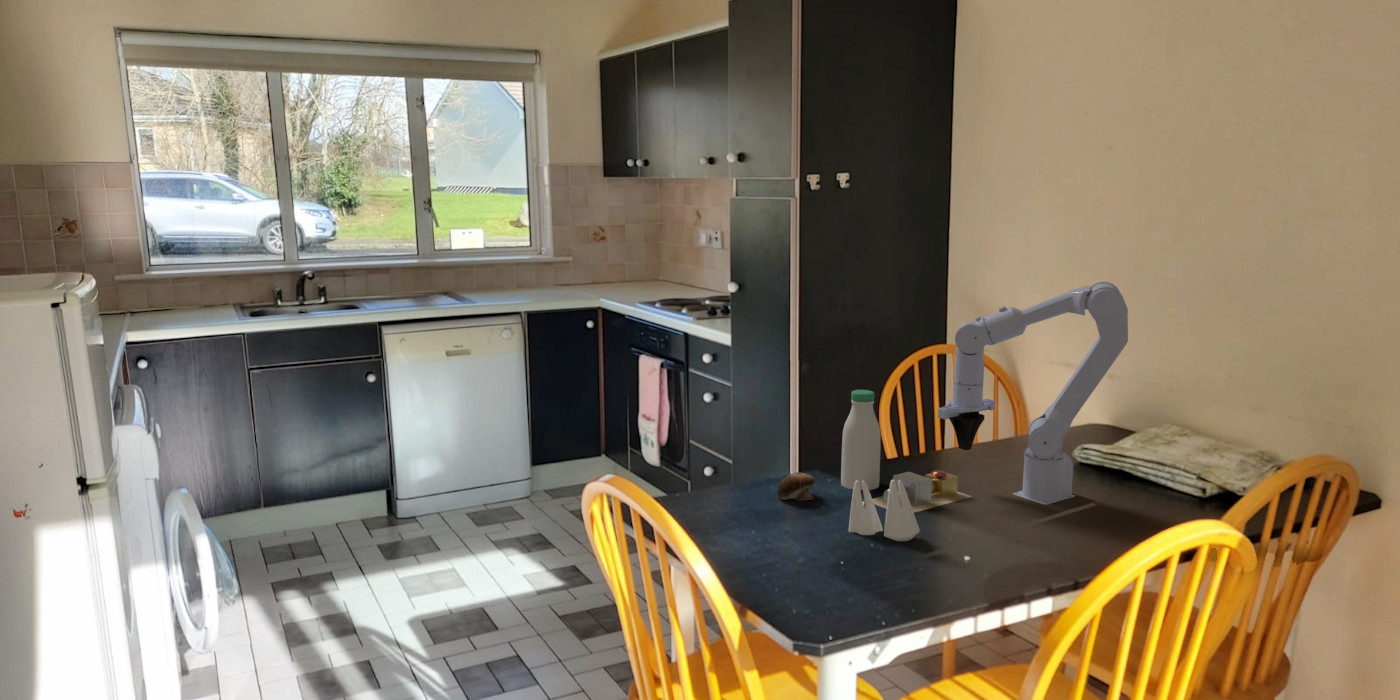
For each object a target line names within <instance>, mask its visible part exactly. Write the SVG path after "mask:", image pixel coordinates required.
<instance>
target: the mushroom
mask: <svg viewBox="0 0 1400 700" xmlns="http://www.w3.org/2000/svg"><path fill="white" fill-rule="evenodd" d="M815 483H816V480H815V478H814V477H813V475H810V474H808V473H805V472H793V473H791V474H789V475H787V476H786V477H784V478H783V479H782V480H781V481H780V483H779V484H778V486H777V496H778V498H779V499H780V500H782V501H783V500H784V501H785V500H789V499H791V500H792V499H793V500H796V501H798V502H800V501H801V502H803V501H812V500H814V496H813V495H812V494H811V493H810V492H809V489H810V488H811V487H813V486H814V485H815Z"/></svg>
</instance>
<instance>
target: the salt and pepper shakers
mask: <svg viewBox="0 0 1400 700" xmlns="http://www.w3.org/2000/svg"><path fill="white" fill-rule="evenodd" d="M898 486H899V493H898V492H897V488H896V483H895V480H894V479H893V478H892V479H891V480H890V482H889V488H888V489H889V494H888V501H887V509H886V510H885V511H886V512H885V518H884V519H885V520H884V521H885V522H884V529H883V526H882V523H881V520H880V516H879V514H878V511H877V508H876V506H875V504H874V502H873V500H872V499H873V498H872V494H871V491H870V490H869V489H868V487H867V485H866V483H865V481H862V487H863V490H860V485H859V481H858V480H857V481H855V484H854V489H853V490H852V497H851V504H850V512H849V513H850V514H849V523H848V533H856V534H858V535H861V536H873V535H875V534H876V533H879V532H883V536H884V537H886V538H887V539H889V540H893V541H896V542H907V541H911V540H912V539H914V538H915V536H916V535H917V534H919V533H920V527H919V524H918V522H917V521H918V520H917V519H916V516H915V513H914V512H913V509H912V507H911V504H910V501H909V498H908V496H907V493H906V490H905V487H904V485H903V483H902V481H901V480H898ZM861 491H862V492H861ZM862 495H863V497H862Z"/></svg>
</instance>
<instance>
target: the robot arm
mask: <svg viewBox="0 0 1400 700" xmlns="http://www.w3.org/2000/svg"><path fill="white" fill-rule="evenodd" d="M1086 310H1087V311H1088V313H1089V314H1090V316H1091V317H1092V319H1093V320H1094V321H1095V325H1096V328H1097V332H1098V334H1099V335H1098V338H1097V339H1096V341H1095V342H1094V343H1093V345H1092V346H1091V348H1090V350H1088V352H1087V354H1086V355H1085V356H1084V358H1083V360H1082V361H1081V362H1080V364H1079V365H1078V366H1077V368H1076V369H1075V371H1074V372H1073V374H1072V375H1071V377H1070V378H1069V379H1068V381H1067V382H1066V383H1065V385H1064V386H1063V388H1062V389H1061V391H1060V392H1059V394H1058V395H1057V397H1056V398H1055V400H1054V401H1052V403H1051V404H1050V405H1049V406H1048V407H1047V409H1046V410H1045V411H1044V412H1043V413H1042V414H1041V415H1040V416H1038V417H1036V418H1034V419H1033V420H1032V421H1031V422H1030V424H1029V427H1028V438H1027V446H1028V447H1027V448H1025V450H1024V458H1023V459H1024V460H1023V472H1022V473H1023V474H1022V475H1023V476H1022V489H1021V490H1019V491H1016V492H1013V493H1012V494H1013V495H1014V496H1018V497H1020V498H1024V499H1026V500H1029V501H1033V502H1035V503H1039V504H1042V505H1045V506H1047V505H1051V504H1054V503H1056V502H1060V501H1065V500H1067V499H1068V500H1069V499H1070V498H1071V499H1072V498H1074V497H1076V495H1075V494H1073V493H1072V491H1073V488H1072V487H1073V475H1074V464H1073V461H1072V458H1071V457H1070V456H1069V455H1068V454H1067V453H1066V452H1064V451H1063V450H1062V449H1063V444H1064V443H1063V442H1064V438H1065V436H1066V435H1067V433H1068V431H1069V429H1070V427H1071V426H1072V424H1073V421H1074V419H1075V417H1077V415H1078V413H1079V412H1080V410H1081V409H1082V408H1083V406H1084V405H1085V404H1086V402H1087V401H1088V399H1089V398H1090V396H1091V395H1092V394H1093V392H1094V391H1095V390H1096V388H1097V387H1098V385H1099V384H1100V382H1101V381H1102V380H1103V378H1104V377H1105V376H1106V374H1107V372H1108V371H1109V369H1110V368H1111V367H1112V366H1113V364H1114V363H1115V361H1116V360H1117V358H1118V357H1119V356H1120V355H1121V353H1122V352H1123V350H1124V348H1125V347H1126V346H1127V344H1128V342H1129V320H1128V319H1129V317H1128V314H1129V308H1128V307H1127V304H1126V301H1125V297H1123V295H1122V293H1121V292H1120V290H1119V288H1118V287H1117V286H1116V285H1114V284H1113V283H1111V282H1108V281H1099V282H1096V283H1093V284H1092V285H1091V286H1090V285H1084V286H1080V287H1077V288H1074V289H1071V290H1067V291H1065V292H1063V293H1061V294H1058V295H1056V296H1053V297H1051V298H1048V299H1045V300H1043V301H1041V302H1039V303H1036V304H1033V305H1030V306H1028V307H1027V308H1023V309H1018V308H1016V307H1014V306H1010V307H1006V305H1004V306H1001V307H998V311H996V312H994V313H991V314H988V315H985V316H983V317H981V316H980V315H979V316H976V317H975V318H974V320H975V321H966V322H963V324H961V325H960V326H959V328H957V331H956V333H955V334H954V335H955V336H954V342H955V345H956V349H955V352H954V353H955V359H954V366H953V367H954V368H953V386H952V400H949V402H948V403H947V404H946V405H944V406H942V407H938V408H937V409H938V410H937V418H938V419H942V420H949V421H950V424H951V425H952V427H953V430H954V432H955V436H956V441H957V445H958V449H959V450H964V451H969V450H970V451H971V450H972V446H973V443H974V441H975V437H976V434H977V433H978V431H979V428H980V427H981V425H982V423H984V421H985V415H984V414H983V413H982V414H981V413H980V412H984V411H988V410H989V411H994V410H996V409H995V408H996V400H994V399H990V398H985V399H983V395H984V394H983V393H984V376H985V375H984V374H985V360H984V355H985V353H984V351H985V348H986V347H985V346H995V345H997V344H1000V343H1002V342H1005V341H1008V340H1011V339H1014V338H1017V337H1018V336H1022V335H1023V334H1024V333H1025V331H1026V328H1027V327H1028V326H1030V325H1033V324H1036V323H1039V322H1042V321H1046V320H1049V319H1051V318H1055V317H1058V316H1061V315H1063V314H1066V313H1067V314H1068V313H1070V314H1077V315H1079V316H1086Z"/></svg>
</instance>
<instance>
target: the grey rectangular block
mask: <svg viewBox="0 0 1400 700" xmlns="http://www.w3.org/2000/svg"><path fill="white" fill-rule="evenodd" d="M893 479H894V480H895V483H896V488H897V492H898V493H899V486H898V480H901V481H902V483H903V485H904V487H905V490H906V493H907V496H908V498H909V501H910V504H911V506H914V507H917V506H921V505H925V504H928V503H931V489H932V479H929V478H926V477H925V476H922V475H920V474H917V473H914V472H911V471H906V472H901V473H896V474H893V475H892V480H893ZM888 494H889V488H888V489H886V490H884V492H883V495H882V496H883V498H884V501H885V502H886V504H887V501H888Z"/></svg>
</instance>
